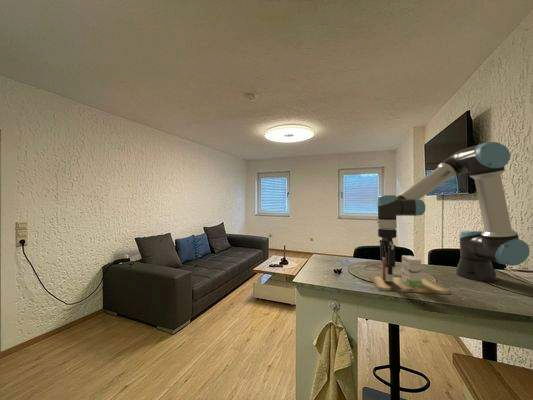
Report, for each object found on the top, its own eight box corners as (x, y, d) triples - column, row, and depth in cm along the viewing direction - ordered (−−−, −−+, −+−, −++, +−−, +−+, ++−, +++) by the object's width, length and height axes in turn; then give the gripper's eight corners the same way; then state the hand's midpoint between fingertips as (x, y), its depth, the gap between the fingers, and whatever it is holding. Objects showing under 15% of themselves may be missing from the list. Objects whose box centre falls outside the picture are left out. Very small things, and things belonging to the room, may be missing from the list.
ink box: (422, 287, 98) (422, 260, 98) (409, 286, 99) (409, 259, 99) (412, 280, 106) (412, 255, 106) (401, 279, 107) (401, 255, 107)
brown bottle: (381, 278, 106) (381, 252, 106) (390, 278, 106) (390, 252, 106) (384, 281, 102) (384, 254, 102) (393, 281, 102) (393, 255, 102)
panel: (431, 281, 108) (431, 278, 108) (450, 293, 94) (450, 290, 94) (369, 278, 112) (369, 275, 112) (378, 290, 98) (378, 287, 98)
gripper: (372, 226, 113) (373, 273, 113) (384, 230, 96) (385, 285, 96) (388, 226, 112) (389, 273, 112) (403, 231, 95) (404, 286, 95)
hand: (387, 279), depth 104 cm, fingers closed on brown bottle, 4 cm apart
